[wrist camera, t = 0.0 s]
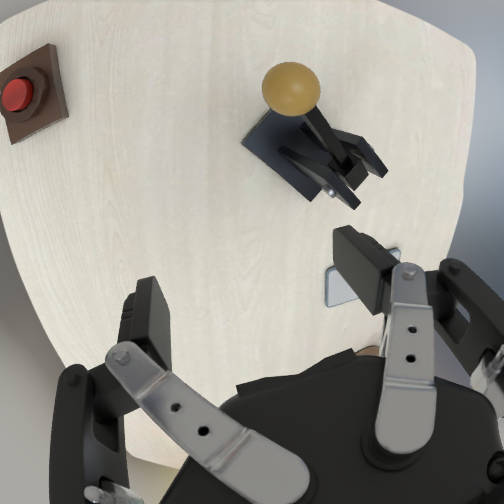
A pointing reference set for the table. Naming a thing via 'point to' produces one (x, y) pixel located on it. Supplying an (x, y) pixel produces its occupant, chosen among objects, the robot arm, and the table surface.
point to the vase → (369, 351)
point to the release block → (35, 94)
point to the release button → (17, 94)
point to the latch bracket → (307, 156)
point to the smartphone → (343, 286)
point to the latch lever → (310, 115)
